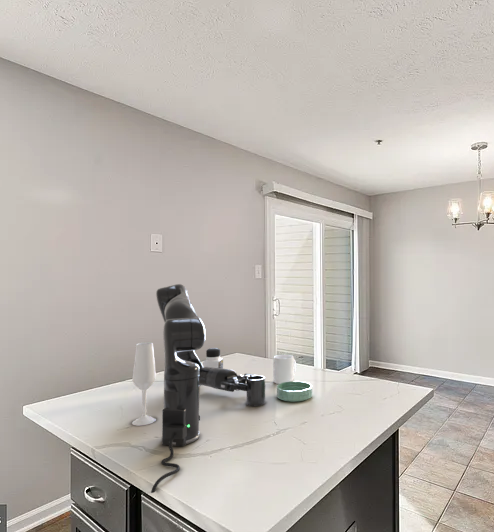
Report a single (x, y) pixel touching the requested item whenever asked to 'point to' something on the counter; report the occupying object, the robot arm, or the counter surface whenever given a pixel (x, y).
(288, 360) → the mug
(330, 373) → the counter surface
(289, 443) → the counter surface
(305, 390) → the bowl
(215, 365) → the medicine bottle
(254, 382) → the cup
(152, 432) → the counter surface
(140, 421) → the champagne flute
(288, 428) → the counter surface
